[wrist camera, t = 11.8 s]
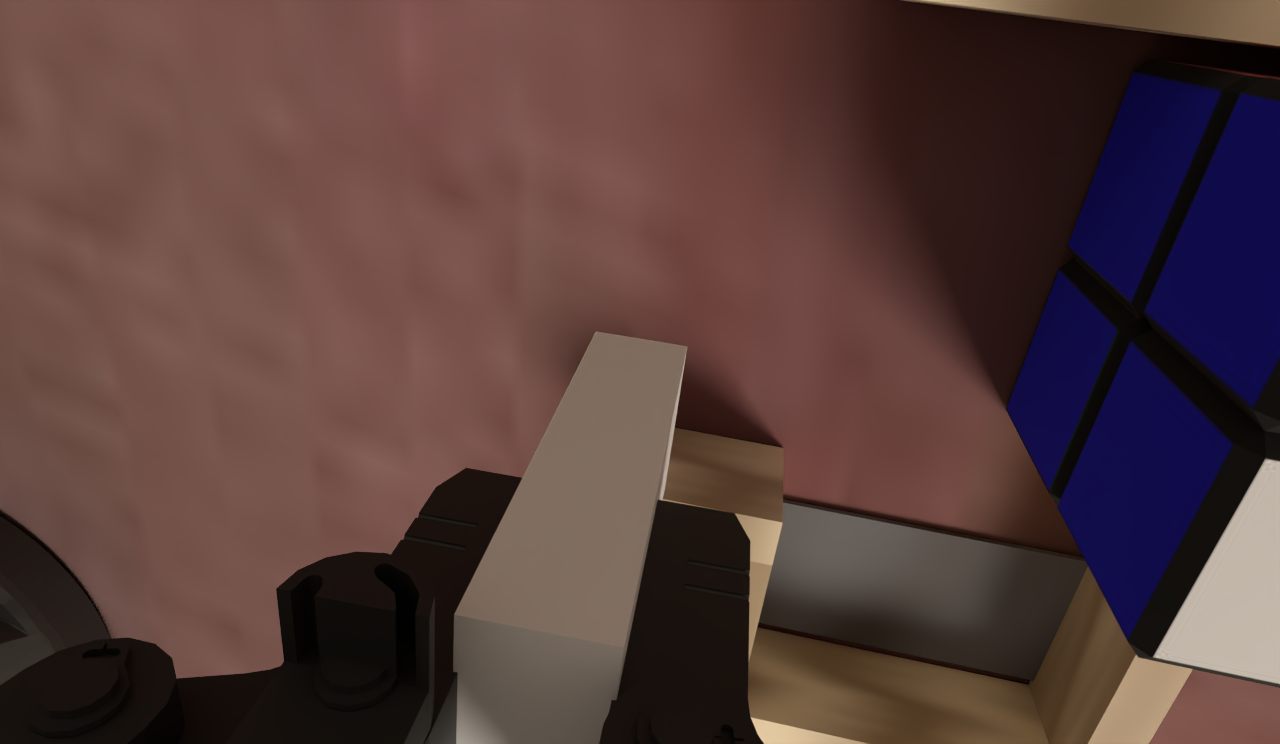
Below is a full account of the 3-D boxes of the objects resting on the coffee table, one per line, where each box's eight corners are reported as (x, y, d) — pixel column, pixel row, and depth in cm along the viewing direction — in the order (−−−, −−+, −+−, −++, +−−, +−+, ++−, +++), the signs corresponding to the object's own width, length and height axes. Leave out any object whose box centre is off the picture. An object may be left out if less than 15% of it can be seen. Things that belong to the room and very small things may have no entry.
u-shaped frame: (629, 631, 29) (607, 718, 26) (736, -92, 19) (724, -112, 15) (1072, 727, 28) (1114, 834, 24) (1454, -6, 17) (1626, -7, 14)
